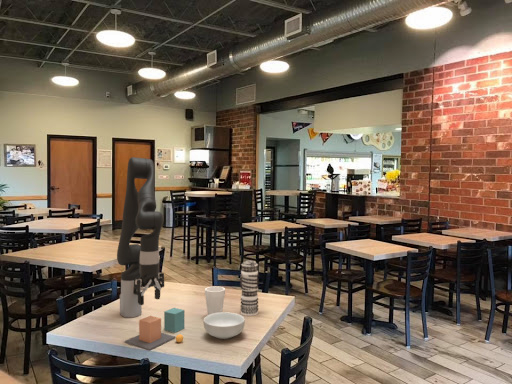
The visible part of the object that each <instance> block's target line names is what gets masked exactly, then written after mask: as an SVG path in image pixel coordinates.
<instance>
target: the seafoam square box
mask: <svg viewBox="0 0 512 384" xmlns="http://www.w3.org/2000/svg"><path fill="white" fill-rule="evenodd" d="M163 312H164V315H163V316H164V317H163V319H164V321H163V323H164V324H163V325H164V329H163V330H164V331H166V332H170V333H173V334H174V333H175V334H176V333H178V332H179V331H181V330H184V329H185V309H181V308H176V307H172V308H170V309H167V310H165V311H163Z"/></svg>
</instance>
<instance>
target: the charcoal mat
mask: <svg viewBox="0 0 512 384" xmlns="http://www.w3.org/2000/svg"><path fill="white" fill-rule="evenodd" d="M174 339H175V340H176V336H174V335H171V334H168V333H165V332H164V333H163V332H161V338H160V339H158V340H156V341H154V342H151V343H148V342H145V341H142V340H139V334H138V335H135V336H133V337H131V338H128V339H126V340H124V341H123V342H124V343H125V344H128V345H131V346H134V347H137V348H141V349H143V350H147V351H152V350H154V349H156V348H158V347H160V346H163V345H164V344H167V343H168V342H170V341H173V340H174Z"/></svg>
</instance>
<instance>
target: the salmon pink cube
mask: <svg viewBox="0 0 512 384" xmlns="http://www.w3.org/2000/svg"><path fill="white" fill-rule="evenodd" d="M138 326H139V327H138V330H139V333H138V335H139V340H142V341H145V342H148V343H151V342H154V341H156V340H158V339H160V338H161V333H162V318H161V317H157V316H154V315H149V316H148V315H147V316H145V317H143V318H141V319H139V321H138Z"/></svg>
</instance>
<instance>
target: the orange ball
mask: <svg viewBox="0 0 512 384" xmlns="http://www.w3.org/2000/svg"><path fill="white" fill-rule="evenodd" d="M175 341H176V343H181V342H183V341H184V336H183V334H181V333H180V334H176V336H175Z"/></svg>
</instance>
